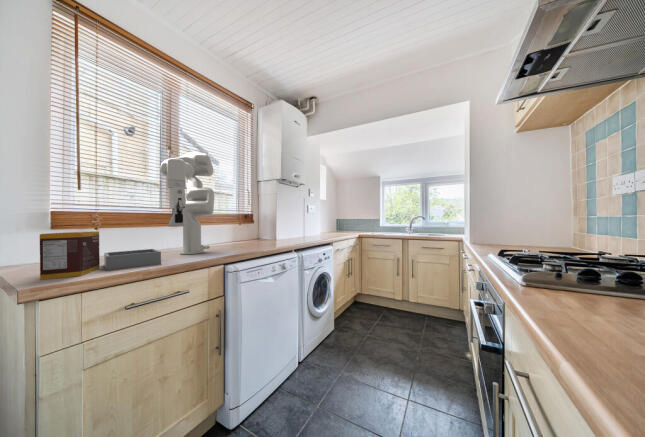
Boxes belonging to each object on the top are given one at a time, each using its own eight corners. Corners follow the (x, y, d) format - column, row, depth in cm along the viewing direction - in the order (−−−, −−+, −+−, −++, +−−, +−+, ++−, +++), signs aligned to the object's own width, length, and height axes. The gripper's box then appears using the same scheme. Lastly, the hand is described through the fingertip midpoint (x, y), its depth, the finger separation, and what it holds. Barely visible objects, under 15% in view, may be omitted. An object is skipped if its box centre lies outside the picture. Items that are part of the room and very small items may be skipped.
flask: (189, 226, 114) (189, 206, 114) (179, 226, 106) (178, 205, 106) (176, 226, 114) (175, 206, 114) (164, 226, 107) (164, 205, 107)
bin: (153, 259, 116) (153, 248, 116) (161, 263, 103) (160, 251, 103) (104, 265, 103) (104, 252, 103) (106, 270, 91) (106, 256, 91)
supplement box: (100, 268, 95) (99, 231, 96) (80, 276, 82) (80, 232, 82) (65, 271, 91) (65, 232, 91) (39, 279, 77) (38, 233, 77)
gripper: (190, 183, 107) (191, 222, 107) (180, 187, 119) (181, 222, 119) (171, 182, 102) (172, 223, 102) (163, 186, 114) (164, 222, 114)
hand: (177, 222), depth 110 cm, fingers closed on flask, 5 cm apart
